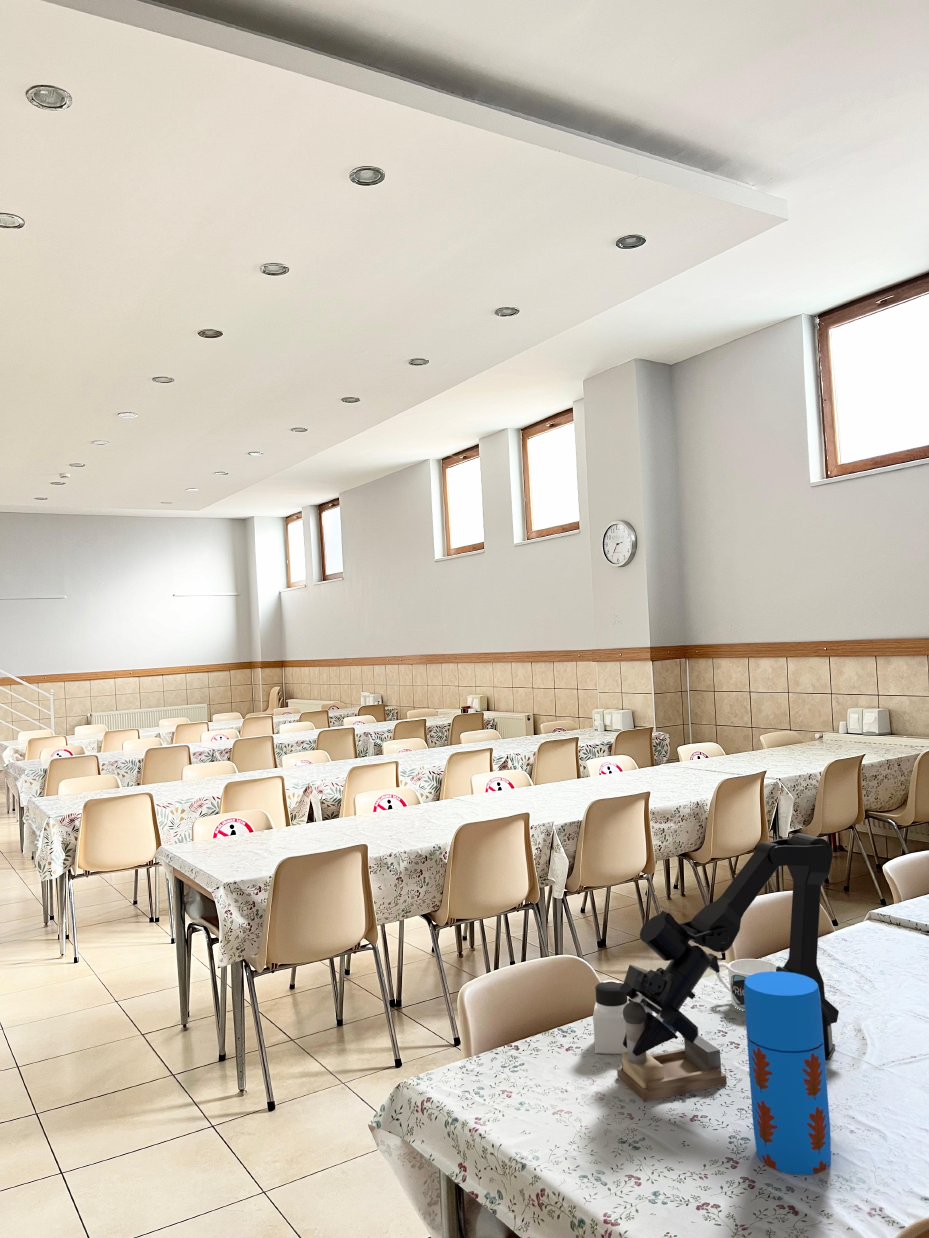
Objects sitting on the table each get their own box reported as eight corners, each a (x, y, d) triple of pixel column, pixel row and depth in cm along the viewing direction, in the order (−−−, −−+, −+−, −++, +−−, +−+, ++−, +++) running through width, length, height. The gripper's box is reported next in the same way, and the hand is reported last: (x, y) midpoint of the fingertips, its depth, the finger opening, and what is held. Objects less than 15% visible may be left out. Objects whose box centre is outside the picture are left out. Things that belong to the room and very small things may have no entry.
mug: (787, 1000, 193) (784, 962, 194) (775, 1017, 184) (772, 977, 185) (724, 991, 201) (722, 954, 201) (710, 1007, 192) (707, 969, 192)
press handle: (643, 1066, 162) (638, 992, 163) (664, 1083, 155) (659, 1006, 156) (618, 1071, 161) (613, 996, 161) (638, 1089, 153) (633, 1011, 154)
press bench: (695, 1061, 166) (693, 1030, 167) (726, 1084, 157) (724, 1051, 157) (617, 1077, 162) (615, 1045, 162) (644, 1101, 152) (642, 1068, 153)
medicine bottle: (633, 1055, 171) (628, 990, 171) (595, 1053, 172) (591, 989, 173) (633, 1039, 178) (629, 977, 178) (597, 1038, 179) (593, 976, 180)
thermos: (795, 1183, 126) (782, 1001, 128) (739, 1149, 136) (727, 980, 137) (849, 1160, 131) (835, 985, 133) (791, 1129, 141) (779, 966, 142)
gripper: (626, 934, 169) (575, 1004, 165) (677, 963, 151) (622, 1042, 147) (666, 971, 171) (617, 1040, 167) (721, 1004, 153) (668, 1083, 149)
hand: (629, 1050), depth 157 cm, fingers closed on press handle, 3 cm apart
